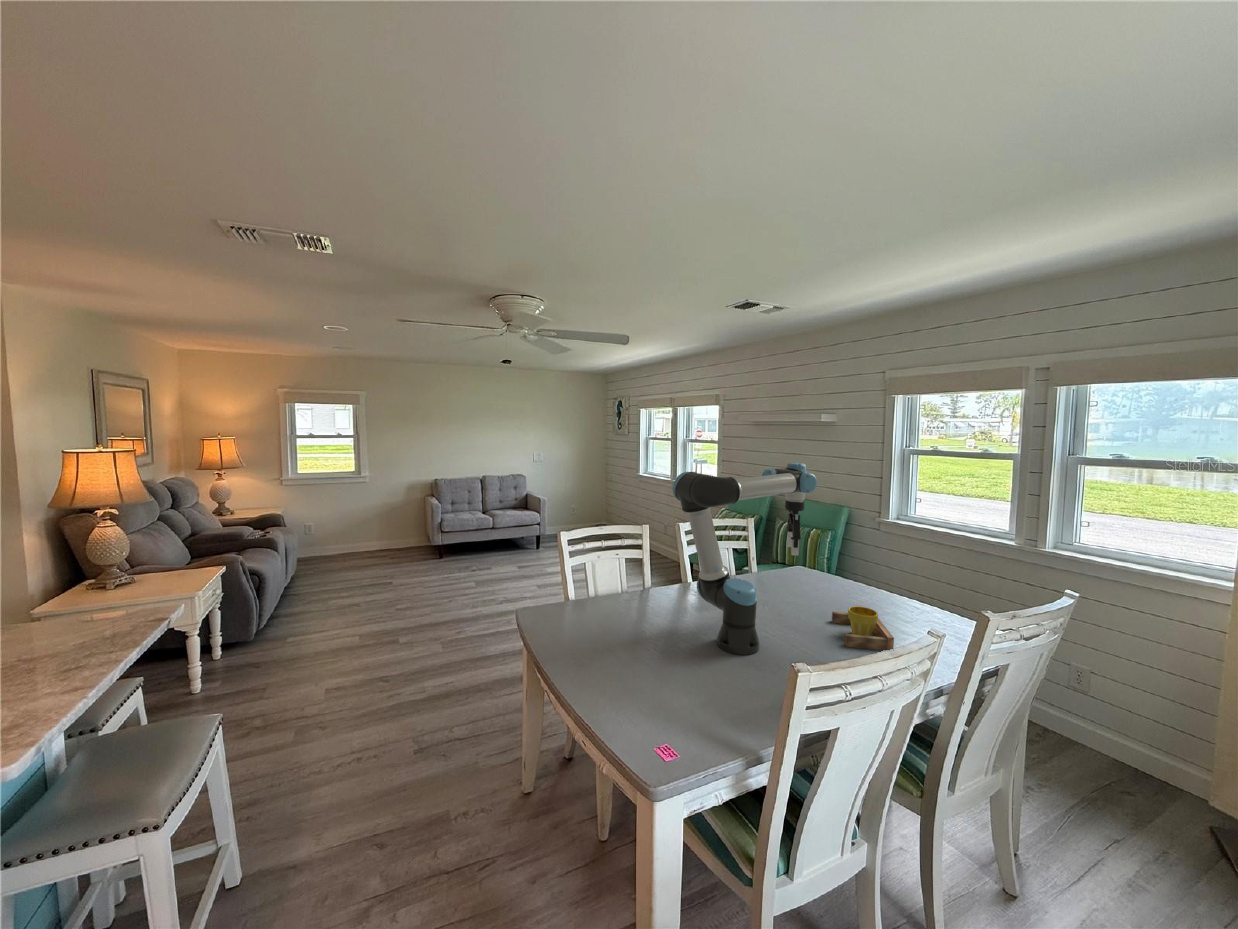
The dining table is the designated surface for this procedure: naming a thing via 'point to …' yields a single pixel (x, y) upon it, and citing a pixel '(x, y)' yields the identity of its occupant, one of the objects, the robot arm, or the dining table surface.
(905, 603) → the dining table surface
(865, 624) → the plant pot
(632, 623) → the dining table surface
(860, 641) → the docking bay
